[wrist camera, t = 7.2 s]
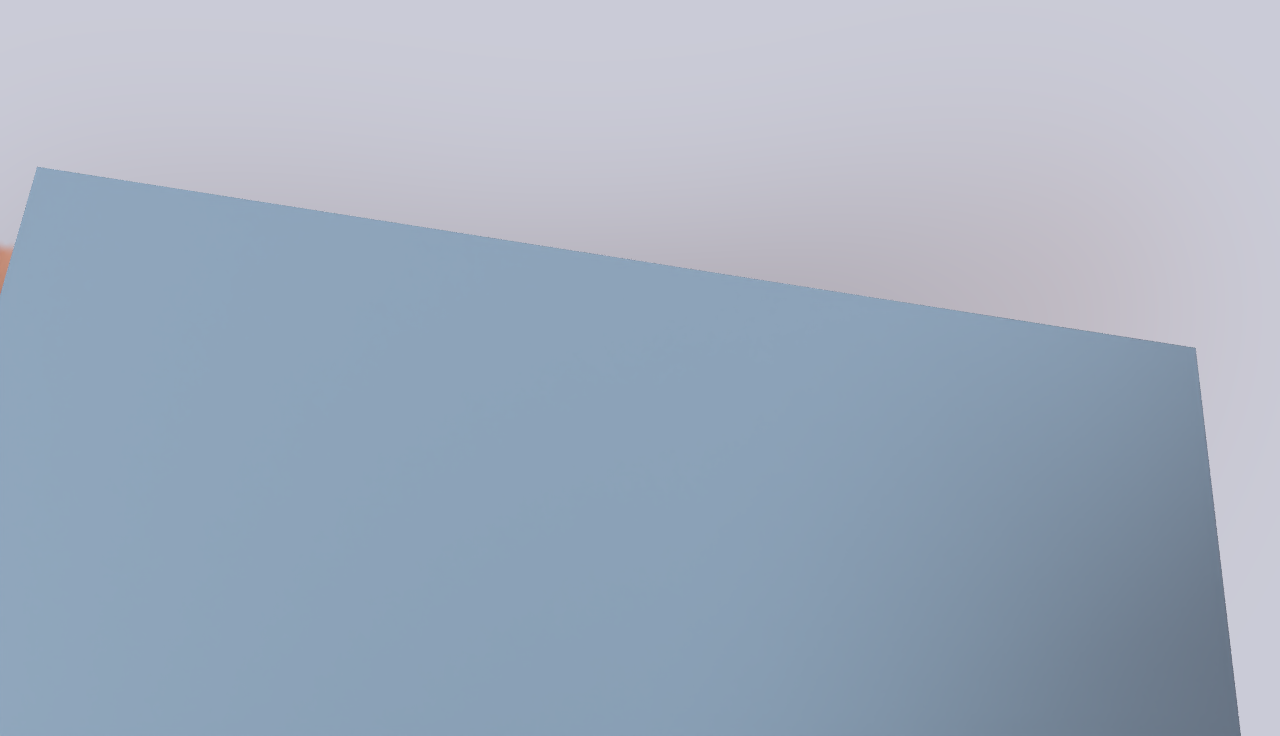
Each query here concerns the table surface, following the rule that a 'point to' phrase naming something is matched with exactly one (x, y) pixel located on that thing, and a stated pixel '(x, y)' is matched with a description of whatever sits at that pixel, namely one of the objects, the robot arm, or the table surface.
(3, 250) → the table surface
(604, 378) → the box
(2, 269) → the table surface
